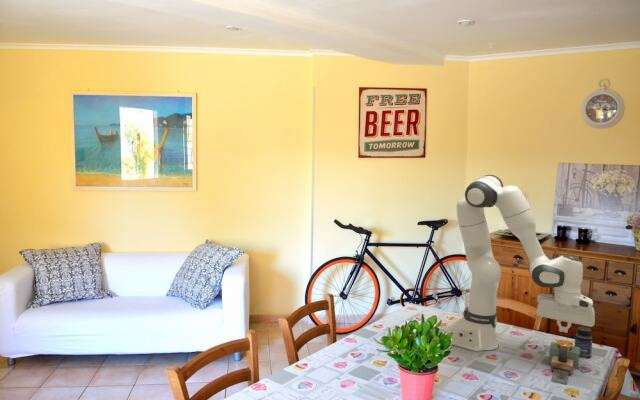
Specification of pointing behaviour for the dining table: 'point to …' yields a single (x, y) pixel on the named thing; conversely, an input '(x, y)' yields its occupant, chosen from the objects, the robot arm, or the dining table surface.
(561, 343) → the plunger
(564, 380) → the rail
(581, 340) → the pill bottle
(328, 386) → the dining table surface
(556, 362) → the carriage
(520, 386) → the dining table surface
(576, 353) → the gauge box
